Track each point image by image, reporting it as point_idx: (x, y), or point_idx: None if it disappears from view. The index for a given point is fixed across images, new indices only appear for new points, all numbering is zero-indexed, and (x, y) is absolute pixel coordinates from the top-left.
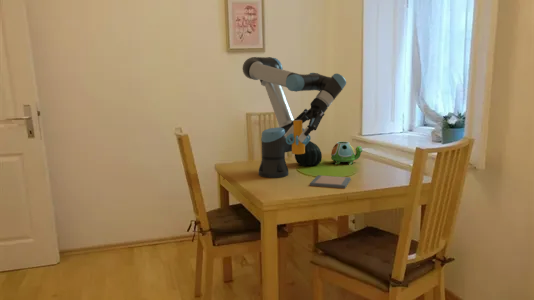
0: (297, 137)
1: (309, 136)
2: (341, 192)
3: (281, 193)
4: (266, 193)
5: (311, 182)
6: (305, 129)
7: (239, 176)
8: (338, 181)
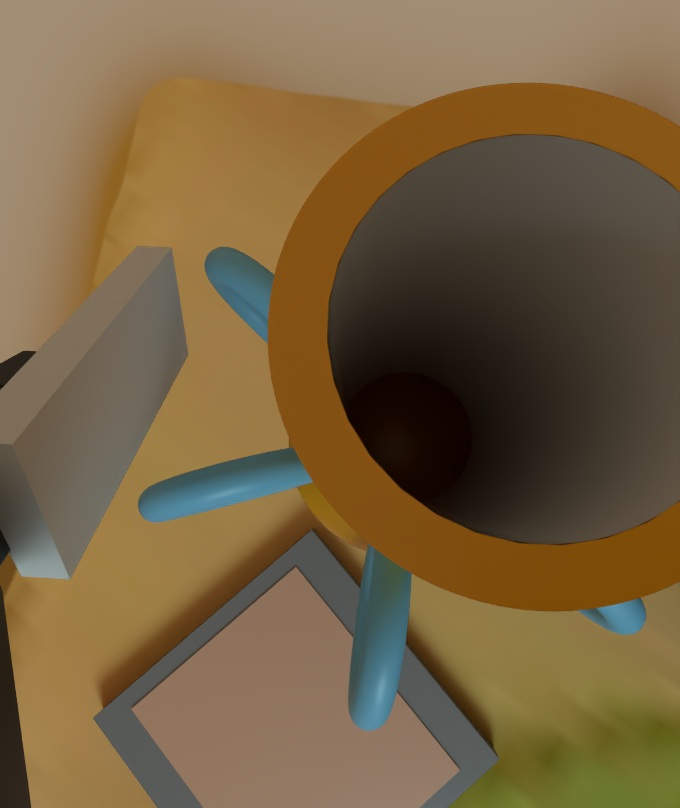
0: (217, 277)
1: (350, 697)
2: (37, 607)
3: (253, 246)
4: (307, 167)
5: (319, 551)
6: (7, 384)
7: None
8: (218, 762)
